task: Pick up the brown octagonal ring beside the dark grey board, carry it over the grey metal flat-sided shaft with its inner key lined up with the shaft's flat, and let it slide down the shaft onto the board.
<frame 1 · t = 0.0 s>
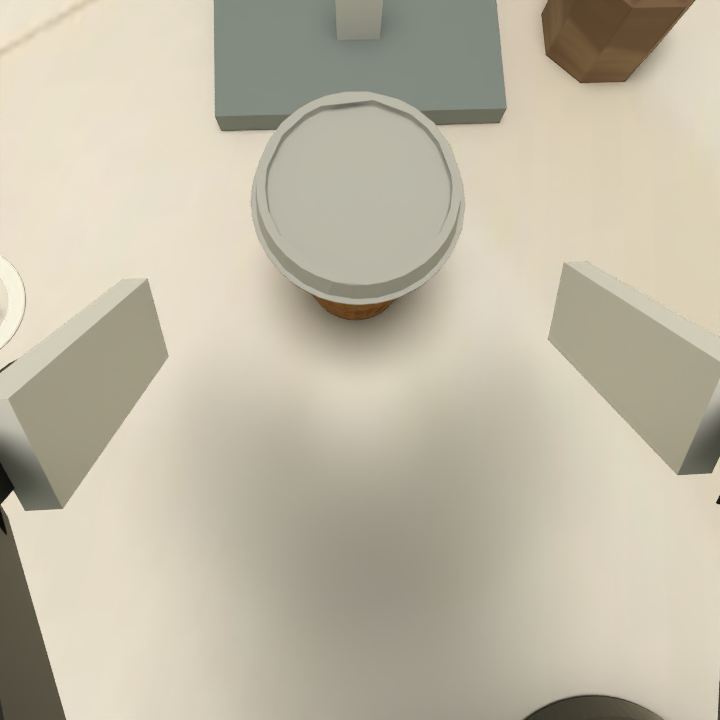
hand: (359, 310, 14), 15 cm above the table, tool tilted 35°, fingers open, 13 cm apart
disposable coffee cup: (355, 276, 30), on the table
brown octagonal ring: (596, 33, 33), on the table
shaft board: (357, 38, 32), on the table
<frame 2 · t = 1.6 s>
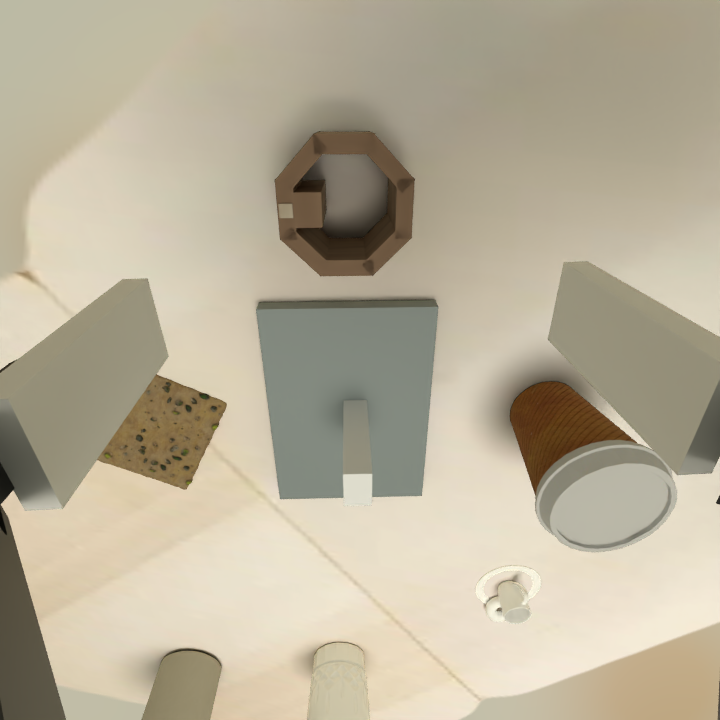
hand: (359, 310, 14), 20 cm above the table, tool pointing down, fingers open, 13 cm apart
disposable coffee cup: (542, 408, 41), on the table
brown octagonal ring: (345, 195, 31), on the table
shaft board: (349, 404, 40), on the table
white cup: (339, 654, 60), on the table
teacup and saucer: (481, 586, 54), on the table
speckled square slab: (146, 422, 41), on the table
travel mug: (192, 663, 60), on the table
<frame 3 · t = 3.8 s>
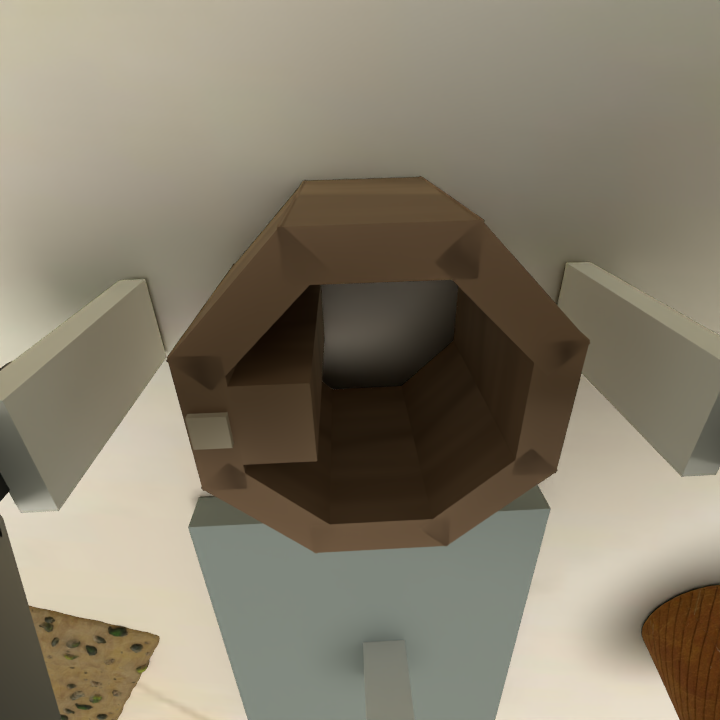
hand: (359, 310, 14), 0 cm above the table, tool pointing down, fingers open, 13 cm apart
disposable coffee cup: (696, 615, 24), on the table
brown octagonal ring: (365, 310, 14), on the table
shaft board: (371, 628, 23), on the table
speckled square slab: (26, 657, 24), on the table
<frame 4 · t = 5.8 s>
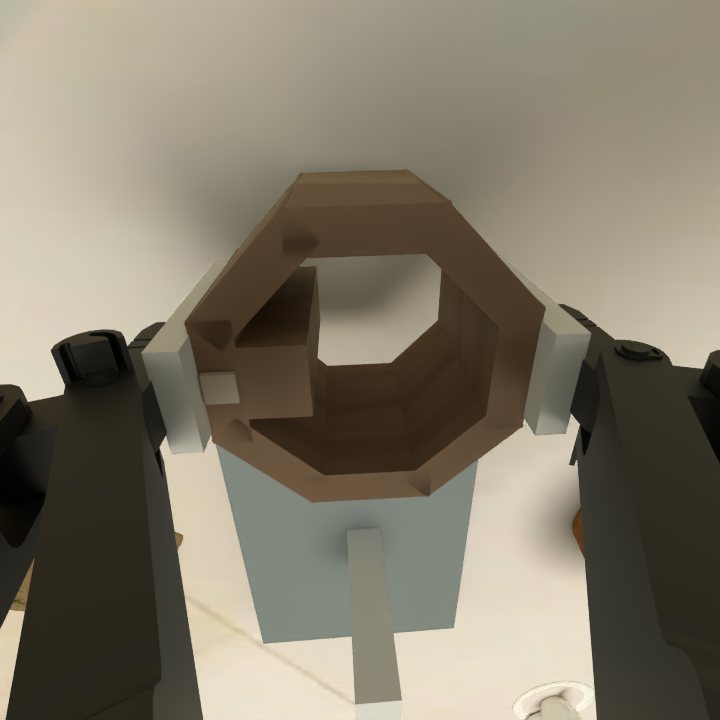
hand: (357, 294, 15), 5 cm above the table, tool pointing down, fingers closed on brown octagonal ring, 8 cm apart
brown octagonal ring: (357, 292, 16), point 5 cm above the table, touching gripper
shaft board: (354, 525, 29), on the table
teacup and saucer: (518, 700, 44), on the table
speckled square slab: (70, 558, 29), on the table
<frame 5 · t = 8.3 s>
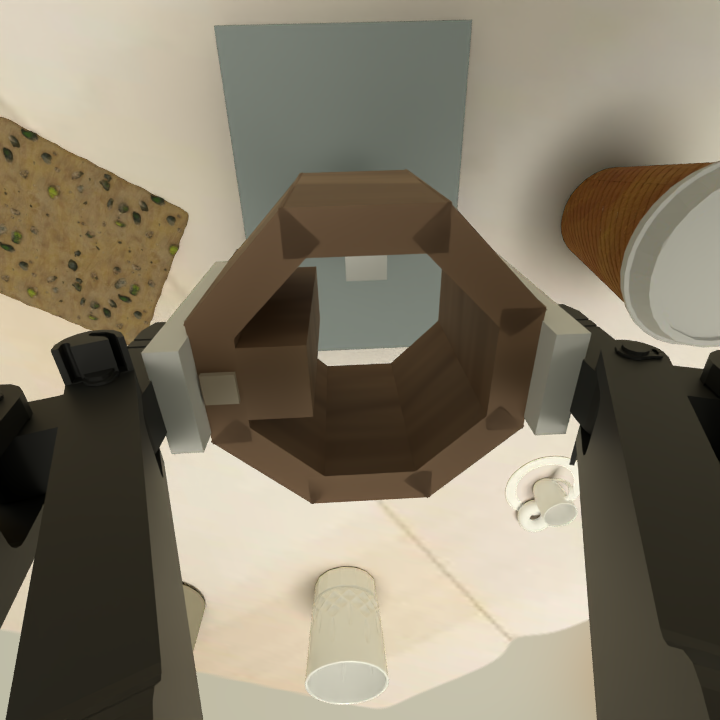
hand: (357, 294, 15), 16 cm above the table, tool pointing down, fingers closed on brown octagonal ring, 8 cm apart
disposable coffee cup: (603, 214, 31), on the table
brown octagonal ring: (357, 292, 16), point 16 cm above the table, touching gripper
shaft board: (350, 209, 30), on the table
white cup: (345, 583, 50), on the table
teacup and saucer: (511, 489, 45), on the table
speckled square slab: (82, 246, 31), on the table
travel mug: (170, 598, 50), on the table
when the fingers open (4 cm above the table, at t = 11.2 s): brown octagonal ring drops 2 cm, resting on shaft board.
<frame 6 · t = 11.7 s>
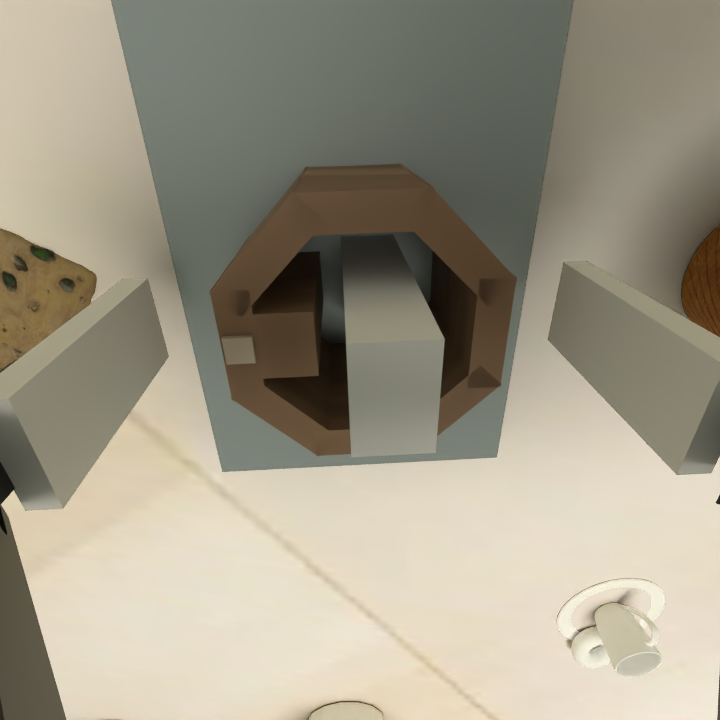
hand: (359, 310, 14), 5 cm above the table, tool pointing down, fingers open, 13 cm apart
brown octagonal ring: (356, 274, 17), point 1 cm above the table, touching shaft board
shaft board: (353, 263, 19), on the table
white cup: (345, 716, 39), on the table
teacup and saucer: (564, 612, 34), on the table
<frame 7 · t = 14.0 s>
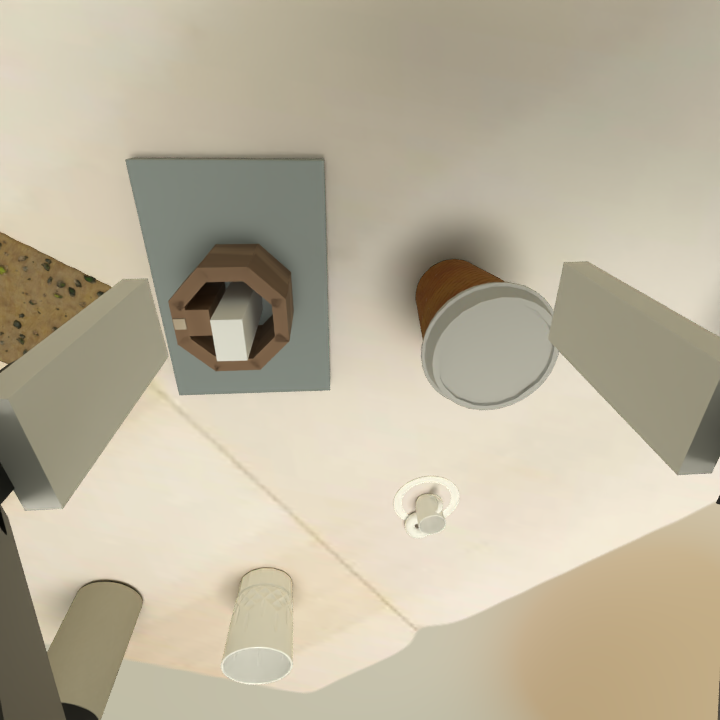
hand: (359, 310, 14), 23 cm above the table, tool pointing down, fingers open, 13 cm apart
disposable coffee cup: (449, 292, 40), on the table
brown octagonal ring: (243, 292, 36), point 1 cm above the table, touching shaft board
shaft board: (245, 285, 38), on the table
white cup: (266, 581, 58), on the table
teacup and saucer: (400, 502, 53), on the table
speckled square slab: (26, 308, 38), on the table
travel mug: (111, 596, 57), on the table
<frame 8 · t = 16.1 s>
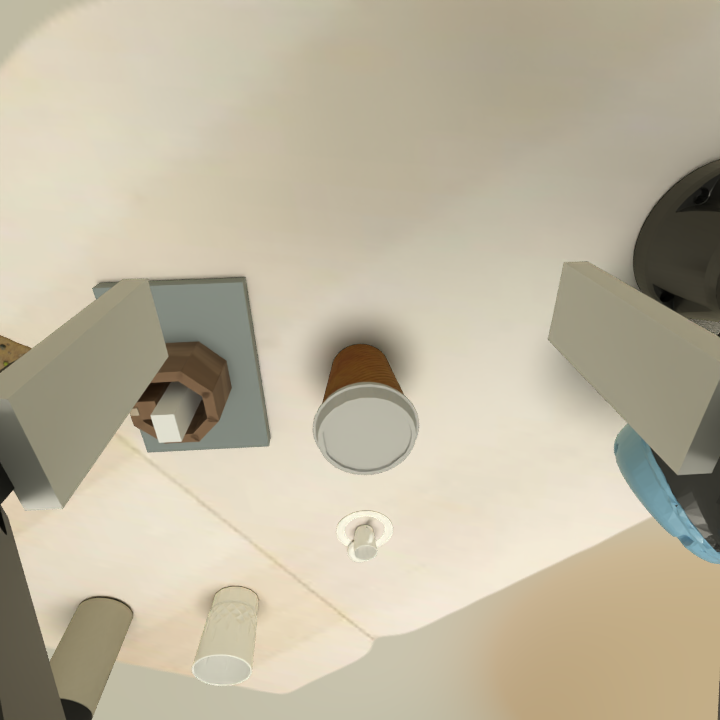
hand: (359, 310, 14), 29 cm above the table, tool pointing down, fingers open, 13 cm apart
disposable coffee cup: (360, 368, 49), on the table
brown octagonal ring: (190, 376, 46), point 1 cm above the table, touching shaft board
shaft board: (194, 368, 47), on the table
white cup: (236, 598, 68), on the table
teacup and saucer: (343, 532, 62), on the table
speckled square slab: (26, 389, 48), on the table
travel mug: (107, 610, 67), on the table
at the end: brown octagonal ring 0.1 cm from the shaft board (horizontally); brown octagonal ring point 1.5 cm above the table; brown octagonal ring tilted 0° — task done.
